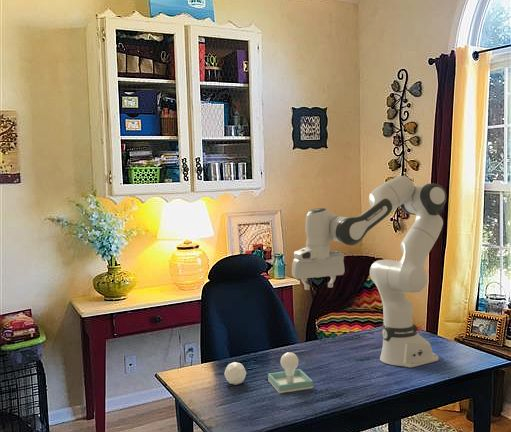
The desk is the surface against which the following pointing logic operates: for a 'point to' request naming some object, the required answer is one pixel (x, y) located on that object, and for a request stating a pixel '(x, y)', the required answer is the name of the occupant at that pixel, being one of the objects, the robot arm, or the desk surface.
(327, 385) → the desk surface
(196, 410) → the desk surface
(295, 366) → the lightbulb
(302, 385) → the dish
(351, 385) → the desk surface
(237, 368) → the geometric ball
